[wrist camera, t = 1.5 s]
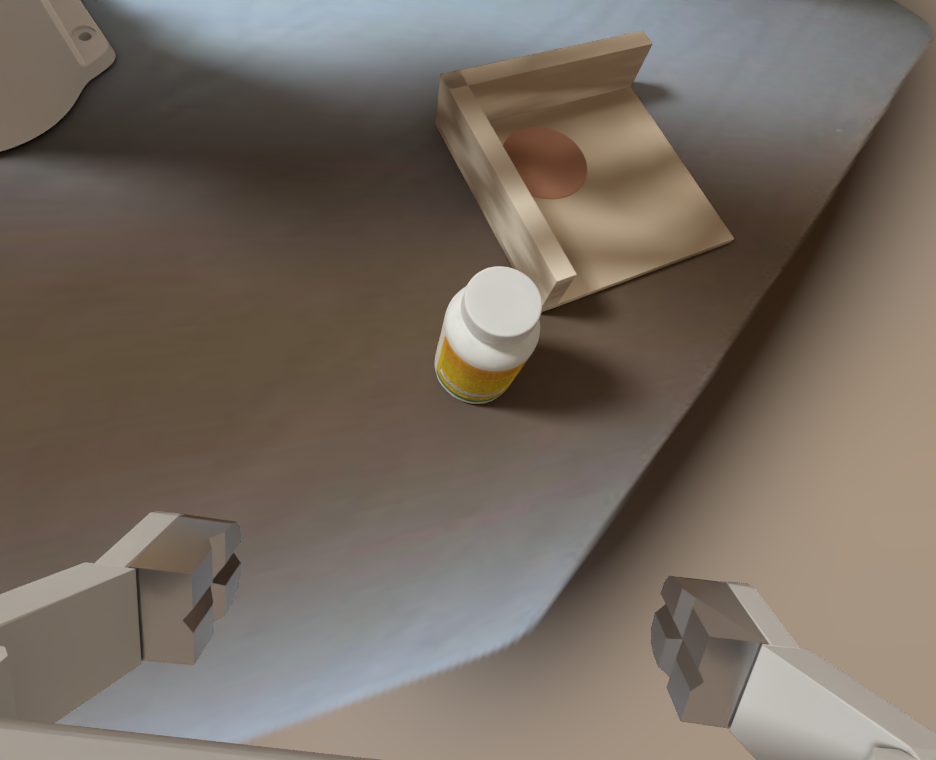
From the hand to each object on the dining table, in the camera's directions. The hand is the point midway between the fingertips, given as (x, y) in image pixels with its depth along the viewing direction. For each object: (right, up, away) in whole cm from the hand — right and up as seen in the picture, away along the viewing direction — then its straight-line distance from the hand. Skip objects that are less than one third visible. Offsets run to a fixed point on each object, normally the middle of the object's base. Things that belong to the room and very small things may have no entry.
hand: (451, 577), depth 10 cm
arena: (+9, +19, +32) cm, 39 cm away
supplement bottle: (+1, +5, +25) cm, 26 cm away
